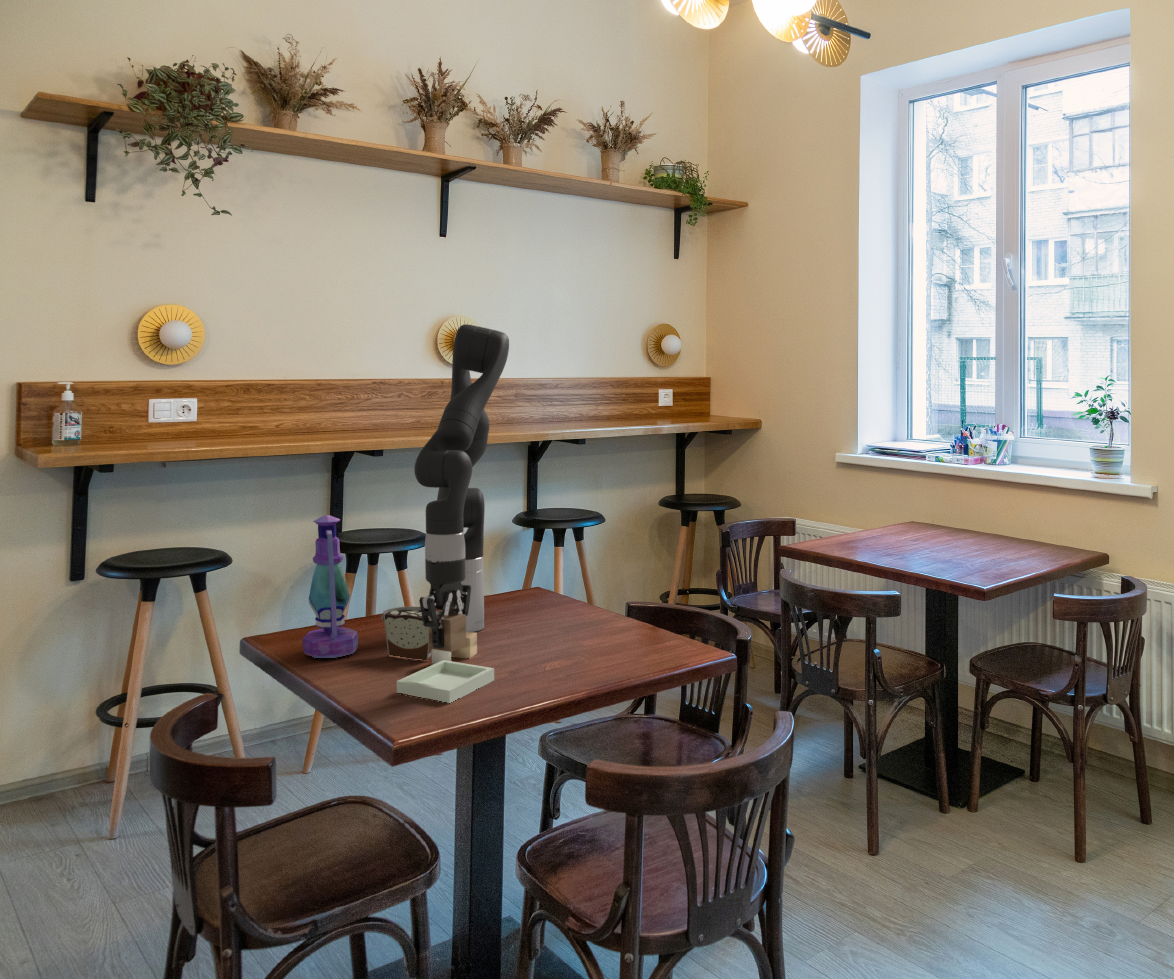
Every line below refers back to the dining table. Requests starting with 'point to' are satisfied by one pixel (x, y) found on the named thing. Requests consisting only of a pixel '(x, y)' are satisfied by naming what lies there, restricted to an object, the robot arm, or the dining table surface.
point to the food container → (406, 633)
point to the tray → (446, 681)
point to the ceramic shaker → (440, 656)
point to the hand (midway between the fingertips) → (447, 643)
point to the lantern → (329, 597)
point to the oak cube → (467, 647)
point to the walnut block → (452, 632)
